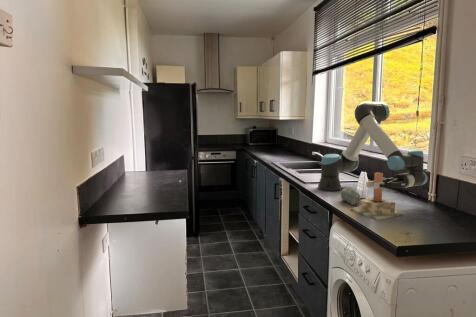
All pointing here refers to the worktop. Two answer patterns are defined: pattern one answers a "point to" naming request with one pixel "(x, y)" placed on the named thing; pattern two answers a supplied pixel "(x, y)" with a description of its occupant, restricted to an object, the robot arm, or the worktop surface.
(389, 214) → the socket
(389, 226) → the worktop surface
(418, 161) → the robot arm
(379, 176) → the peg
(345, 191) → the green striped ellipsoid
